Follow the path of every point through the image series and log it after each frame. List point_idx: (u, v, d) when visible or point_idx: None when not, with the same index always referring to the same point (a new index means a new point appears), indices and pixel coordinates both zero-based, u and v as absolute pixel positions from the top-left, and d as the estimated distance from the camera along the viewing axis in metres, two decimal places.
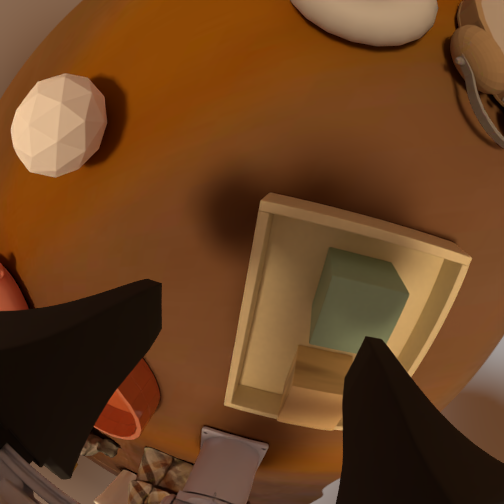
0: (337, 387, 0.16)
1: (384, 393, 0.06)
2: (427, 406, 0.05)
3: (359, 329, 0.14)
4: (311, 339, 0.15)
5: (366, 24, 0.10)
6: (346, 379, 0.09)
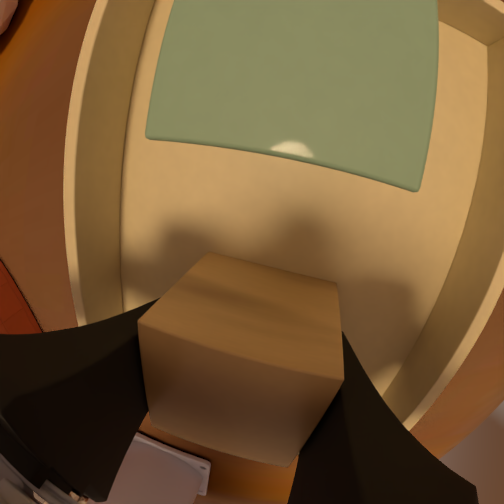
0: (285, 345, 0.06)
1: None
2: (377, 402, 0.05)
3: (309, 50, 0.03)
4: (148, 118, 0.04)
5: None
6: None
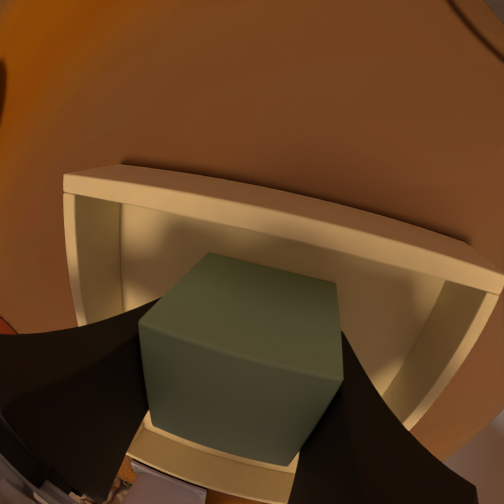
0: None
1: None
2: (377, 402, 0.05)
3: (230, 428, 0.06)
4: (152, 421, 0.07)
5: None
6: None
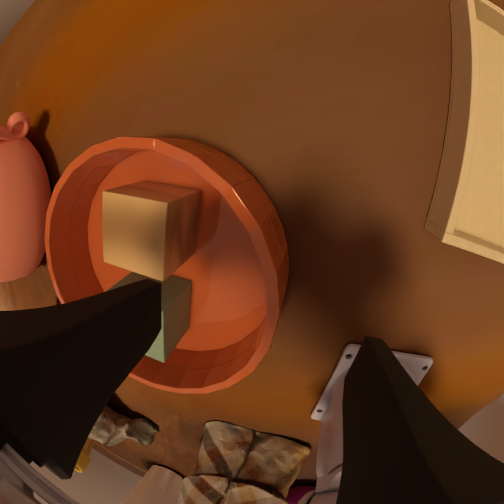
0: (152, 196, 0.14)
1: (384, 393, 0.06)
2: (427, 406, 0.05)
3: None
4: None
5: None
6: (346, 379, 0.09)
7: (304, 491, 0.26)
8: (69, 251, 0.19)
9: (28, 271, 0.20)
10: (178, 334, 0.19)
